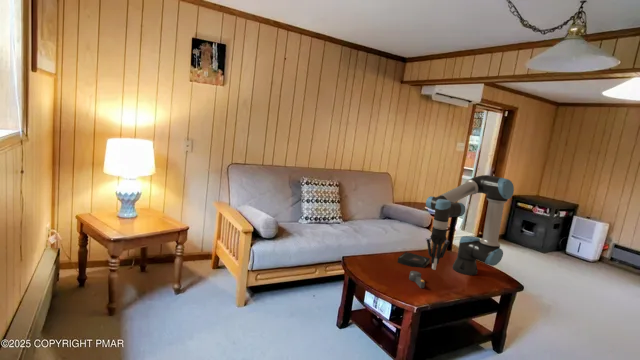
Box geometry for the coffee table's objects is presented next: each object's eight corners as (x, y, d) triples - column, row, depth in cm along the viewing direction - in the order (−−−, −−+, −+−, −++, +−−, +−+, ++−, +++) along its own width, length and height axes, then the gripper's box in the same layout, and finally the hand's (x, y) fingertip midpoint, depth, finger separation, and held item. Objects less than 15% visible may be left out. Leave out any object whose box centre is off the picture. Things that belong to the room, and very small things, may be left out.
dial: (407, 277, 208) (408, 270, 207) (417, 277, 209) (418, 271, 208) (416, 288, 194) (417, 280, 193) (427, 288, 195) (429, 281, 194)
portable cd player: (422, 270, 226) (423, 265, 225) (397, 263, 235) (398, 257, 234) (429, 264, 240) (430, 258, 239) (405, 257, 249) (406, 251, 248)
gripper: (449, 227, 196) (443, 267, 199) (426, 224, 196) (420, 264, 200) (454, 231, 188) (447, 272, 192) (429, 228, 189) (423, 270, 192)
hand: (433, 268), depth 196 cm, fingers closed
